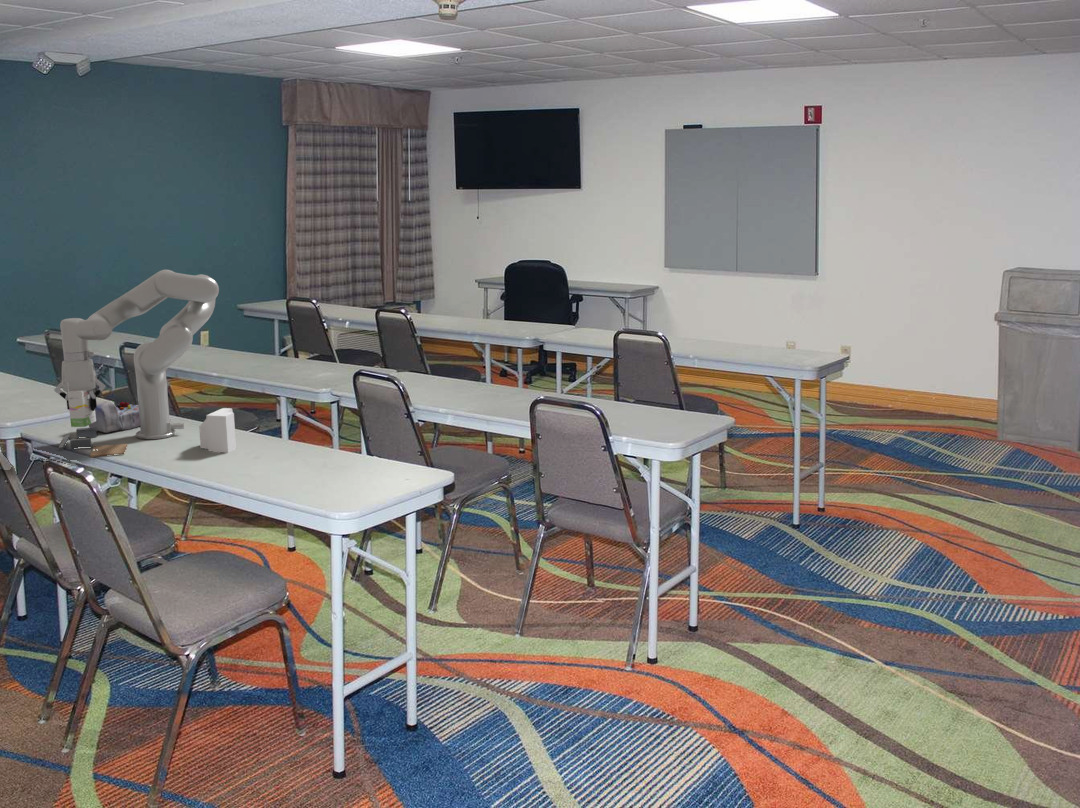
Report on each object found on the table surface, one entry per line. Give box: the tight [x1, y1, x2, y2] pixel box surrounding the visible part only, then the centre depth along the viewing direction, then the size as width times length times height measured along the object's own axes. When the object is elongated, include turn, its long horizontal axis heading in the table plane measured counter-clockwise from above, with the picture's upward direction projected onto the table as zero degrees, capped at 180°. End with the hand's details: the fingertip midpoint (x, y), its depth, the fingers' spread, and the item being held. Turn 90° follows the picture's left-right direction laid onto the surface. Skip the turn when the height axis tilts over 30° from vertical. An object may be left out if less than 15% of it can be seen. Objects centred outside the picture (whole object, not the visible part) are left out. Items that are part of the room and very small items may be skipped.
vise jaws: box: [57, 427, 98, 451], centre depth 346 cm, size 10×17×3 cm, turn 16°
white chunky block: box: [198, 407, 237, 454], centre depth 339 cm, size 11×11×12 cm
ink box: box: [67, 382, 96, 428], centre depth 344 cm, size 9×5×15 cm, turn 179°
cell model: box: [88, 400, 140, 434], centre depth 366 cm, size 13×11×20 cm
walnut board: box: [89, 443, 128, 458], centre depth 336 cm, size 10×12×1 cm
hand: (82, 410), depth 345 cm, fingers closed on ink box, 6 cm apart
